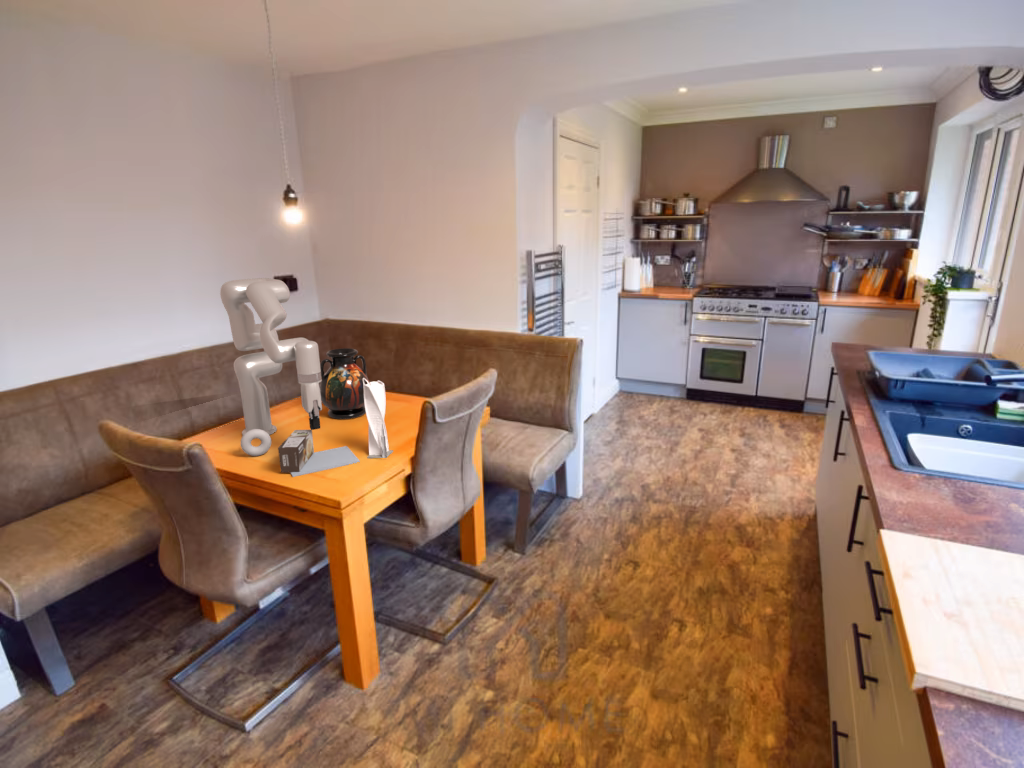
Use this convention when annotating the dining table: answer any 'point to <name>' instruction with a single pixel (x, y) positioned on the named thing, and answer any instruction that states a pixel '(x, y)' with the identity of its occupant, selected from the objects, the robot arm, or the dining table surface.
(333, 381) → the amphora vase
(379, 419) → the skyscraper
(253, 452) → the donut
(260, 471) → the dining table surface
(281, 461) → the coffee box
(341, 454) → the mat
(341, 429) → the dining table surface
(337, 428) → the dining table surface
